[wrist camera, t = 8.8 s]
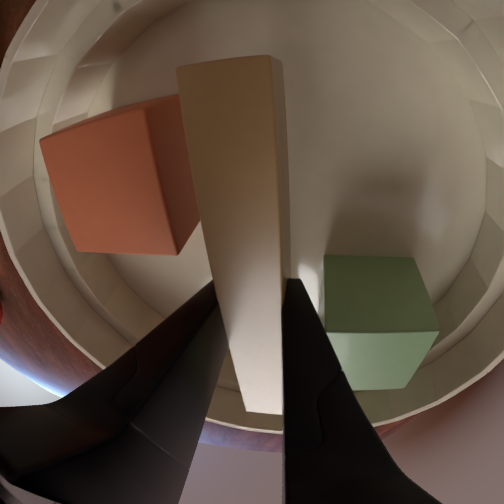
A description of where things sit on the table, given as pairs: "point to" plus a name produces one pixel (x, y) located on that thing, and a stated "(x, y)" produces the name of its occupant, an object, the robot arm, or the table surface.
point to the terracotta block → (125, 179)
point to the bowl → (299, 159)
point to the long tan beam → (243, 207)
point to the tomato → (1, 312)
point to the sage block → (376, 318)
